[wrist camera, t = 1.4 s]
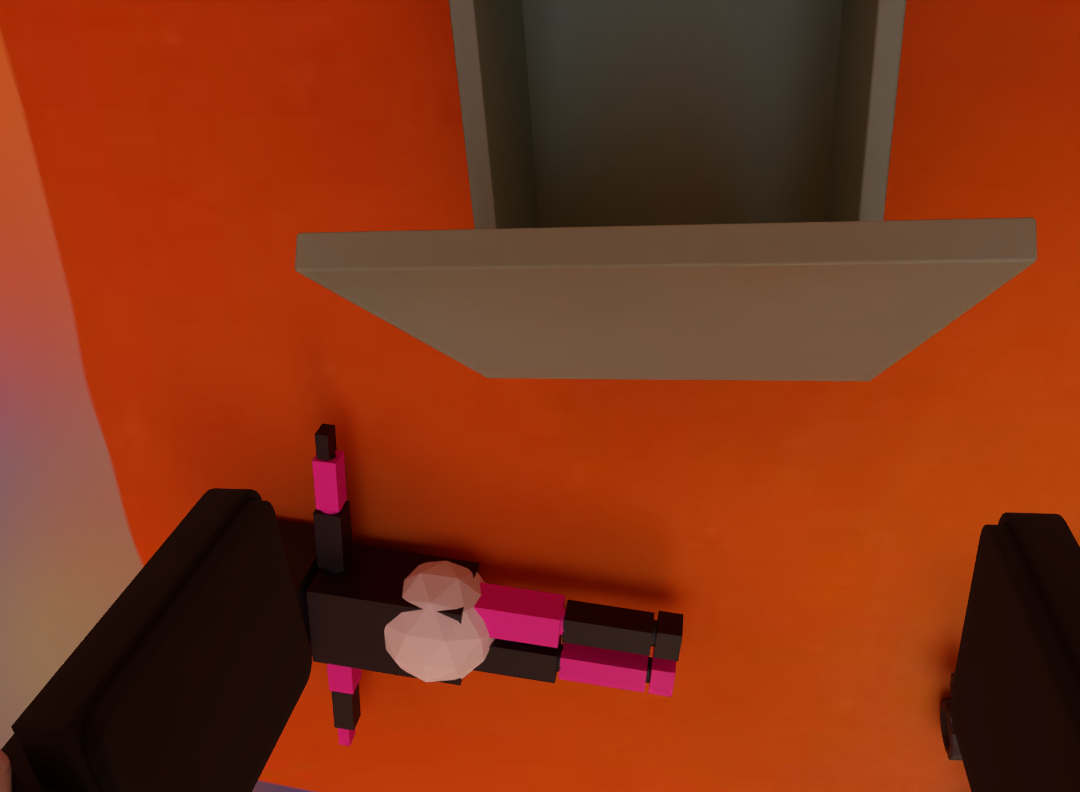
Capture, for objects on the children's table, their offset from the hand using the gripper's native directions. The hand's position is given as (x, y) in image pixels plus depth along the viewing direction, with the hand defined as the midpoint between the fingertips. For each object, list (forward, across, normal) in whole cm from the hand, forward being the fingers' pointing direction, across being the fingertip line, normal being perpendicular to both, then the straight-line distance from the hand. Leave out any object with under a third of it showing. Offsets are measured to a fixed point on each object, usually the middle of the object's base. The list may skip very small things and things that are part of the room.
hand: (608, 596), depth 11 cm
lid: (+14, 0, +2) cm, 15 cm away
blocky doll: (+30, +13, +26) cm, 42 cm away
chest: (+30, 0, 0) cm, 30 cm away
